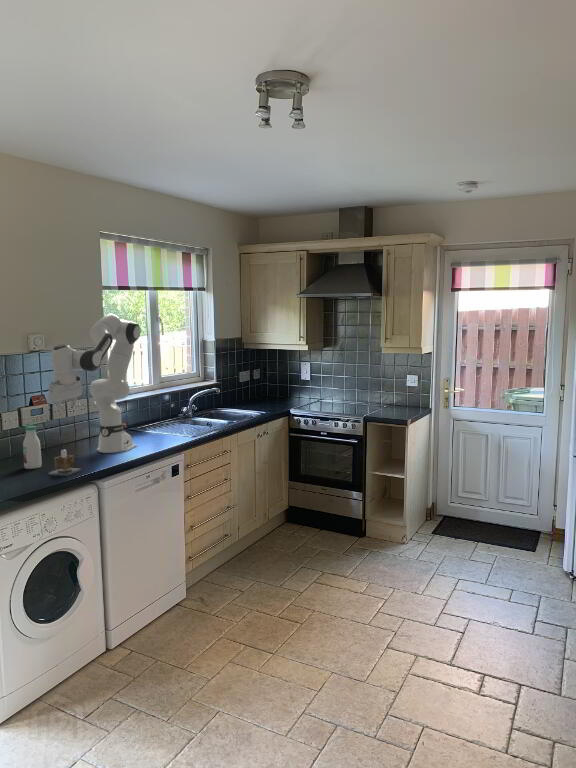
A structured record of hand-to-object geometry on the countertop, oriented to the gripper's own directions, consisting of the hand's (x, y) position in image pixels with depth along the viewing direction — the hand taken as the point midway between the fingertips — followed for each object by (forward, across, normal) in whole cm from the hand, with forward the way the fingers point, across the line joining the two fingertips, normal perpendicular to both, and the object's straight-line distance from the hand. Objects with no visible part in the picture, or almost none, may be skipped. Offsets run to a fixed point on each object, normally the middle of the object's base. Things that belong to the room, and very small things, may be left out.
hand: (67, 408), depth 271 cm
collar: (+26, -11, -4) cm, 28 cm away
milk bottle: (+28, -5, +19) cm, 34 cm away
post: (+28, -11, -4) cm, 31 cm away
